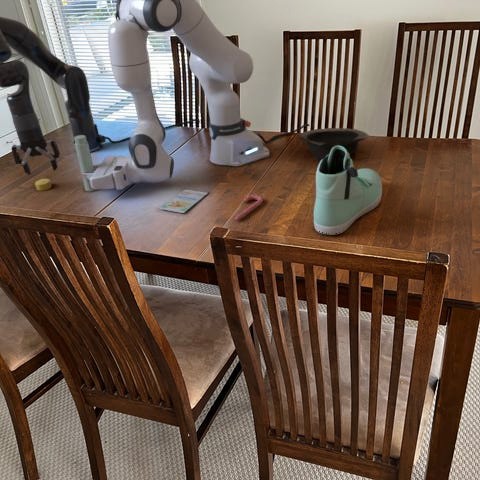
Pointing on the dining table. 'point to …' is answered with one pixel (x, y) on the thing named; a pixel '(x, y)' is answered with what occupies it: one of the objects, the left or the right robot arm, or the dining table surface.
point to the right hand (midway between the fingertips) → (85, 172)
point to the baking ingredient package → (183, 201)
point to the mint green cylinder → (84, 159)
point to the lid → (43, 184)
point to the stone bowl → (332, 140)
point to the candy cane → (250, 206)
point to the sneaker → (343, 192)
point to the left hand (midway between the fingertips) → (42, 171)
